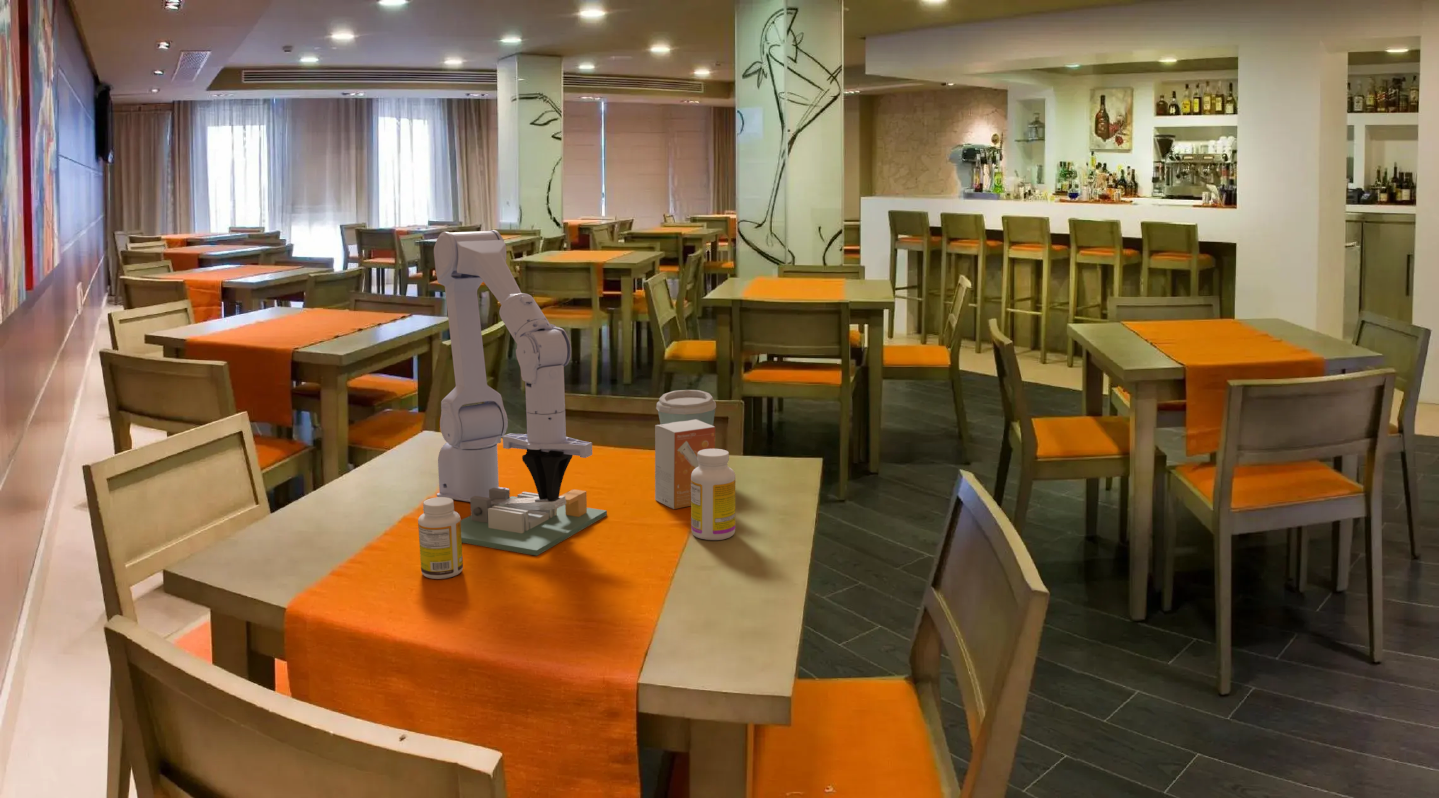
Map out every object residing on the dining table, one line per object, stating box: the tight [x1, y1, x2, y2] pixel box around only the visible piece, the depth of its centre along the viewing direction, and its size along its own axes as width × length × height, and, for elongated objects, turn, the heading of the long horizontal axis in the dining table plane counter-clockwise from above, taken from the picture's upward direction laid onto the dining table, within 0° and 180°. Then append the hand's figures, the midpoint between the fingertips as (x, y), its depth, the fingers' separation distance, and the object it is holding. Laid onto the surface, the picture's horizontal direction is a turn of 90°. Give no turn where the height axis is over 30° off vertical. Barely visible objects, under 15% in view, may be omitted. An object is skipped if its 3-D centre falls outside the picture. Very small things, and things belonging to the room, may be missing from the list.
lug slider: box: [560, 488, 588, 517], centre depth 168 cm, size 2×5×4 cm, turn 156°
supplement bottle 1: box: [417, 496, 464, 580], centre depth 146 cm, size 6×6×10 cm
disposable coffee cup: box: [655, 389, 717, 426], centre depth 192 cm, size 11×11×15 cm
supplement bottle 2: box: [690, 448, 736, 541], centre depth 162 cm, size 7×7×13 cm
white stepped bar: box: [491, 495, 566, 510], centre depth 165 cm, size 13×3×2 cm, turn 65°
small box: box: [654, 419, 716, 510], centre depth 178 cm, size 8×6×13 cm
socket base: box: [460, 488, 608, 557], centre depth 166 cm, size 18×20×4 cm
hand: (548, 498), depth 163 cm, fingers closed, pressing on white stepped bar
